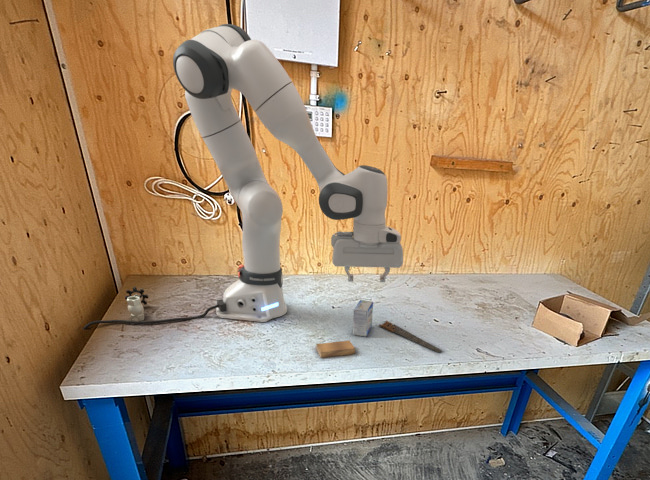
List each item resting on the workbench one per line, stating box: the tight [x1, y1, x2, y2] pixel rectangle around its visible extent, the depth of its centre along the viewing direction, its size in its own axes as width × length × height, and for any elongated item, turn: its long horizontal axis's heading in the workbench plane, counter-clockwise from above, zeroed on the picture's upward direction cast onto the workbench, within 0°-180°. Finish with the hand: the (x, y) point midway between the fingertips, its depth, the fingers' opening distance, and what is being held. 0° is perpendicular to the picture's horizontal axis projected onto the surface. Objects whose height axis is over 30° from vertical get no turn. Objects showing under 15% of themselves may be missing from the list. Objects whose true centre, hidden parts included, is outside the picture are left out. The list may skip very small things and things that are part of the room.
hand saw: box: [378, 320, 443, 353], centre depth 135 cm, size 24×5×1 cm, turn 48°
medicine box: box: [352, 299, 374, 338], centre depth 134 cm, size 8×4×9 cm, turn 168°
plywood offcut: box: [315, 340, 356, 359], centre depth 123 cm, size 10×5×2 cm, turn 112°
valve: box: [124, 286, 149, 321], centre depth 132 cm, size 7×7×12 cm
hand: (366, 281), depth 127 cm, fingers open, 8 cm apart
